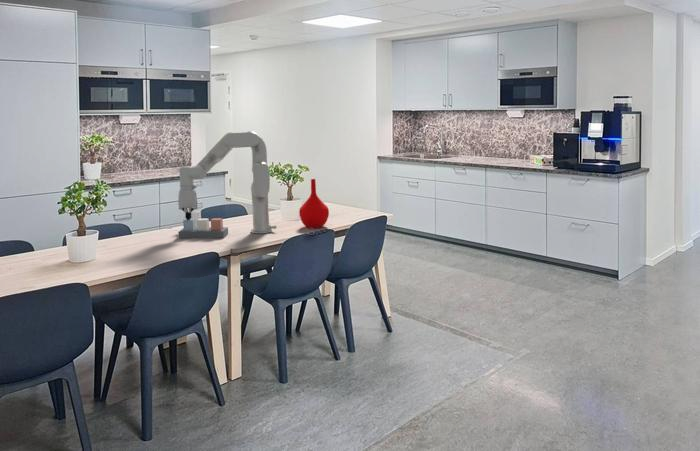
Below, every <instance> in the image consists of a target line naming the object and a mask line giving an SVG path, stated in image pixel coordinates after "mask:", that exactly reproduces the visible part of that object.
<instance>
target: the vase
mask: <svg viewBox="0 0 700 451" xmlns="http://www.w3.org/2000/svg"><path fill="white" fill-rule="evenodd" d="M316 187H317V185H316V178H311V179H310V195H309V197H308V198H307V199H306V201H305V202H304V203H303V204H302V205H301V206H300V208H299V212H298V214H299V217H300V220H301V223H302V224H303V226H304V227H306V228H308V229H320V228H323V227H324V226H325V225H326V223H327V222H328V219H329V216H330V211H329V207H328V206H327V205H326V204H325V203H324V202H323V201H322V200H321V199H320V198H319V196H318V194H317V188H316Z"/></svg>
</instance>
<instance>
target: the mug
mask: <svg viewBox="0 0 700 451" xmlns="http://www.w3.org/2000/svg"><path fill="white" fill-rule="evenodd" d="M188 212H189V210H188ZM201 218H202V214H201V210H198V209H196V210H193V211H192V212H191V219H195V222H196V228H197V220H198V219H201ZM185 219H186V215H185V216H184V218H183V220H185Z"/></svg>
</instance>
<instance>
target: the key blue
mask: <svg viewBox="0 0 700 451" xmlns="http://www.w3.org/2000/svg"><path fill="white" fill-rule="evenodd" d="M182 222H183V224H182V225H183V226H182V228H184V231H194V230H195V229H196V222H195V219H190V220H187V219H186V218H185V220H184V219H183V220H182Z"/></svg>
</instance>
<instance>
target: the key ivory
mask: <svg viewBox="0 0 700 451" xmlns="http://www.w3.org/2000/svg"><path fill="white" fill-rule="evenodd" d="M209 227H210V219H209V218H202V217H201V219H198V220H197V230H198V231H202V230H209Z"/></svg>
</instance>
